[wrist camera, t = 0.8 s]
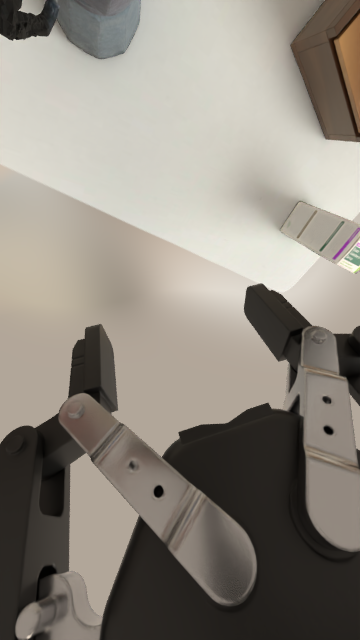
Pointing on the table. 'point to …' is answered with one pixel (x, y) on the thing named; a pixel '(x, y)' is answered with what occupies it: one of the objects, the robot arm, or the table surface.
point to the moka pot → (77, 23)
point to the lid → (351, 62)
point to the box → (327, 68)
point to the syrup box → (325, 235)
